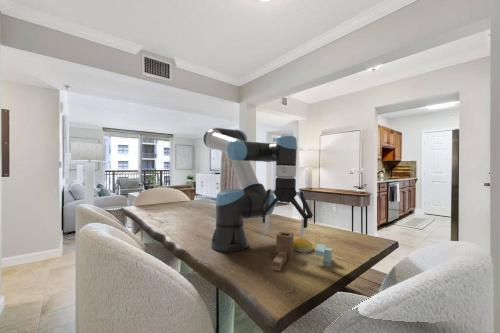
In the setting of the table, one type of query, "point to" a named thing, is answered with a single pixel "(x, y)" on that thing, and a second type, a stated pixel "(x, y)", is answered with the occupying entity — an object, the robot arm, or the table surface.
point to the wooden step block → (283, 249)
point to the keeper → (324, 254)
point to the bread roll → (302, 245)
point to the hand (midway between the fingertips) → (284, 234)
